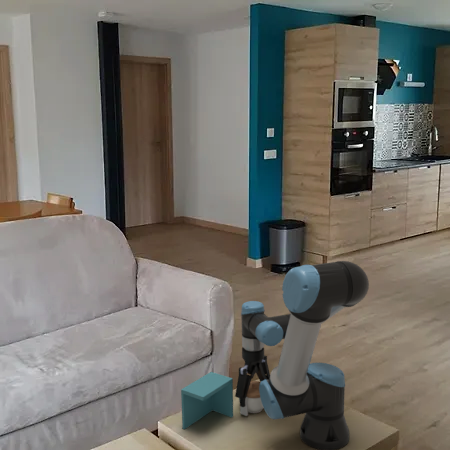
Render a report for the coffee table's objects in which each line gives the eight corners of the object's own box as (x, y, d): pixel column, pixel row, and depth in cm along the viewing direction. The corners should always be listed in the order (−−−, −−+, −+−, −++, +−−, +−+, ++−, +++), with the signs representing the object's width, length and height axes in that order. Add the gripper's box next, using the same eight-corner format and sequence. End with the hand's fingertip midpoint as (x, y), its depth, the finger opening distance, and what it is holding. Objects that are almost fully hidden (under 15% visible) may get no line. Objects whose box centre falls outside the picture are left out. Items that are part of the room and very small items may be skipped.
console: (233, 416, 199) (232, 378, 196) (204, 437, 187) (203, 397, 184) (212, 408, 204) (211, 371, 202) (182, 428, 192) (181, 389, 189)
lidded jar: (267, 418, 198) (267, 391, 196) (235, 415, 200) (235, 389, 198) (271, 402, 208) (271, 377, 206) (240, 400, 210) (240, 375, 208)
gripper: (262, 333, 211) (262, 391, 215) (223, 356, 192) (224, 418, 197) (280, 338, 206) (280, 397, 211) (242, 361, 188) (243, 425, 192)
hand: (253, 407), depth 204 cm, fingers closed on lidded jar, 11 cm apart
